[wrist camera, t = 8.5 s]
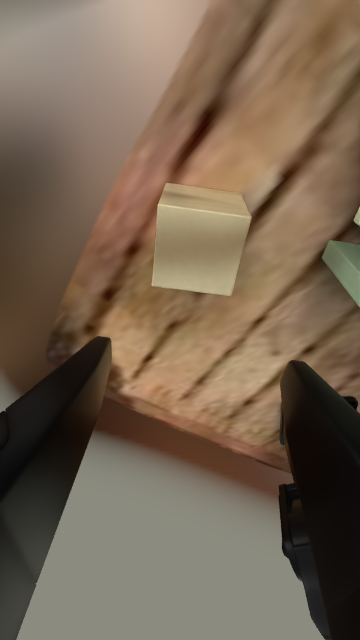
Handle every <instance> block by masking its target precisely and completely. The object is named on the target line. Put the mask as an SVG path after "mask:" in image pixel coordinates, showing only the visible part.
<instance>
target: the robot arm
mask: <svg viewBox="0 0 360 640" xmlns="http://www.w3.org/2000/svg"><path fill="white" fill-rule="evenodd" d="M111 360H112V349H111V339H110V338H108V337H100V336H97V337H95V338H94V339H93V340H92V341H90V342H89V343H88V344H87V345H85V346H84V347H83V348H81V349H80V350H79V351H78V352H76V353H75V354H74V355H73V356H71V357H70V358H69V359H68V360H66V361H65V362H64V363H63V364H61V365H60V366H59V367H58V368H56V369H55V370H54V371H53V372H51V373H50V374H49V375H48V376H46V377H45V378H44V379H43V380H41V381H40V382H39V383H38V384H36V385H35V386H34V387H33V388H31V389H30V390H29V391H27V392H26V393H25V394H24V395H22V396H21V397H20V398H19V399H18V400H16V401H15V402H14V403H12V404H11V405H10V406H9V407H8V408H6V410H5V411H6V412H5V411H2V412H1V413H0V640H16V638H17V636H18V633H19V630H20V627H21V625H22V622H23V619H24V617H25V614H26V611H27V608H28V606H29V603H30V600H31V597H32V595H33V592H34V589H35V587H36V583H37V581H38V578H39V575H40V573H41V570H42V567H43V565H44V562H45V559H46V557H47V554H48V551H49V548H50V546H51V543H52V540H53V538H54V535H55V532H56V529H57V527H58V524H59V521H60V519H61V516H62V513H63V510H64V508H65V505H66V502H67V499H68V497H69V494H70V491H71V489H72V486H73V483H74V480H75V478H76V474H77V472H78V470H79V467H80V464H81V461H82V459H83V456H84V453H85V450H86V448H87V445H88V442H89V439H90V437H91V434H92V431H93V429H94V426H95V423H96V420H97V418H98V415H99V412H100V408H101V405H102V401H103V396H104V392H105V388H106V384H107V379H108V375H109V371H110V366H111ZM280 388H281V398H282V405H281V424H280V443H281V444H282V445H285V448H286V452H287V456H288V460H289V464H290V468H291V472H292V476H293V480H294V483H292V484H287V485H286V484H281V485H279V494H280V495H279V506H280V519H281V531H282V550H283V553H284V555H285V556H286V557H287V558H288V559H289V560H290V563H291V565H292V568H293V570H294V572H295V574H296V576H297V578H298V579H299V580H300V581H302V582H303V585H304V589H305V593H306V597H307V602H308V606H309V611H310V615H311V618H312V620H313V622H314V623H315V625H316V627H317V628H318V630H319V631H320V633H321V635H322V636H323V637H324V639H325V640H360V414H359V413H358V412H357V411H356V410H357V406H358V401H357V399H356V398H355V397H341V396H340V395H339V394H338V393H337V392H336V391H335V390H334V389H333V388H332V387H331V386H330V385H329V384H328V383H327V382H325V381H324V380H323V379H322V378H321V377H320V376H319V375H318V374H317V373H316V372H315V371H314V370H313V369H312V368H311V367H310V366H308V365H307V364H306V363H305V362H303V361H296V360H291V361H289V363H288V365H287V367H286V369H285V371H284V373H283V375H282V378H281V381H280Z"/></svg>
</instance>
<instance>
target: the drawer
mask: <svg viewBox="0 0 360 640" xmlns="http://www.w3.org/2000/svg"><path fill="white" fill-rule="evenodd" d="M354 222H355V223H356V224H358V225H359V226H360V207H359V209H358V212H357V214H356V216H355V218H354ZM322 259H323V260H324V262H325V263H326V264H327V266H328V267H329V268H330V270H331V271H332V272H333V273H334V275H335V276H336V277H337V279H338V280H339V281H340V283H341V284H342V285H343V286H344V288H345V289H346V290H347V292H348V293H349V294H350V296H351V297H352V298H353V300H354V301H355V302H356V303H357V305H358V306H359V307H360V244H354V243H347V242H340V241H332V240H329V242H328V244H327V247H326V249H325V251H324V254H323V256H322Z"/></svg>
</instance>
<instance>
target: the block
mask: <svg viewBox="0 0 360 640" xmlns="http://www.w3.org/2000/svg"><path fill="white" fill-rule="evenodd" d="M250 222H251V215H250V213H249V211H248V209H247V206H246V204H245V202H244V200H243V197H242V195H241V193H236V192H229V191H222V190H215V189H208V188H200V187H193V186H186V185H179V184H172V183H166V184H165V187H164V190H163V193H162V195H161V198H160V201H159V204H158V211H157V224H156V237H155V250H154V263H153V276H152V286H155V287H163V288H171V289H178V290H186V291H194V292H202V293H209V294H217V295H225V296H231V295H232V291H233V287H234V283H235V280H236V276H237V272H238V268H239V264H240V260H241V256H242V253H243V249H244V245H245V241H246V237H247V233H248V229H249V226H250Z"/></svg>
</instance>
